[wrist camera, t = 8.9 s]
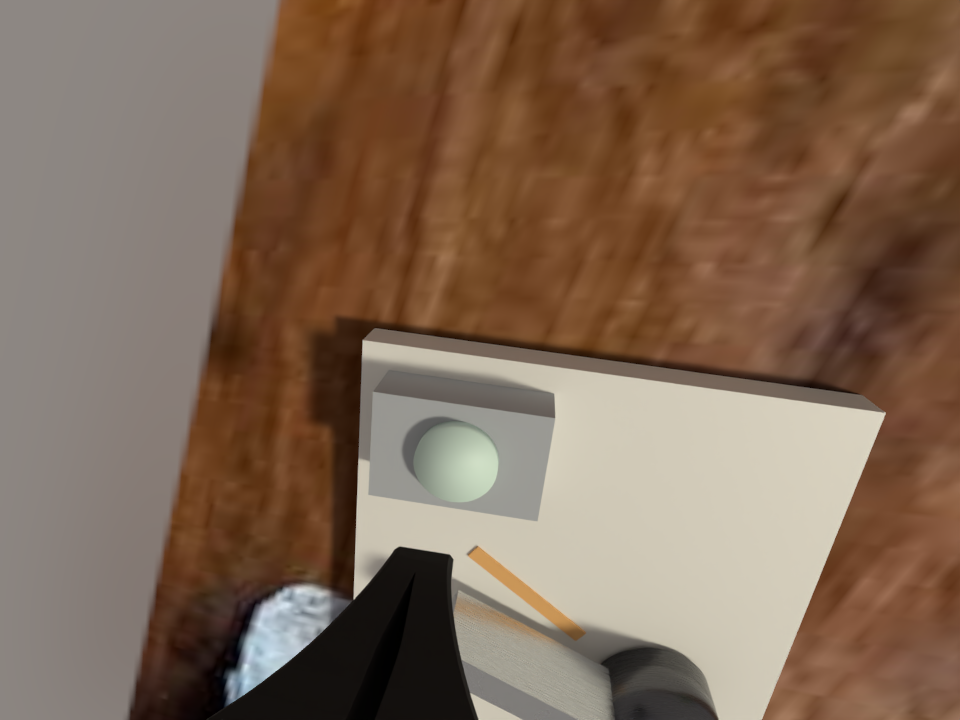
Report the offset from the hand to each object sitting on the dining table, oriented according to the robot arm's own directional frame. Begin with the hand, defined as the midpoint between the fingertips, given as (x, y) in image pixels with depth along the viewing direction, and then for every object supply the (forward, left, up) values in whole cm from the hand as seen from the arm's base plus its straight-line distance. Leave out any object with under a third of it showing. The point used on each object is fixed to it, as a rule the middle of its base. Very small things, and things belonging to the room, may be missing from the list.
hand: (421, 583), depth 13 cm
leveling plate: (-6, -5, -9) cm, 12 cm away
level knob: (-10, -6, -8) cm, 14 cm away
